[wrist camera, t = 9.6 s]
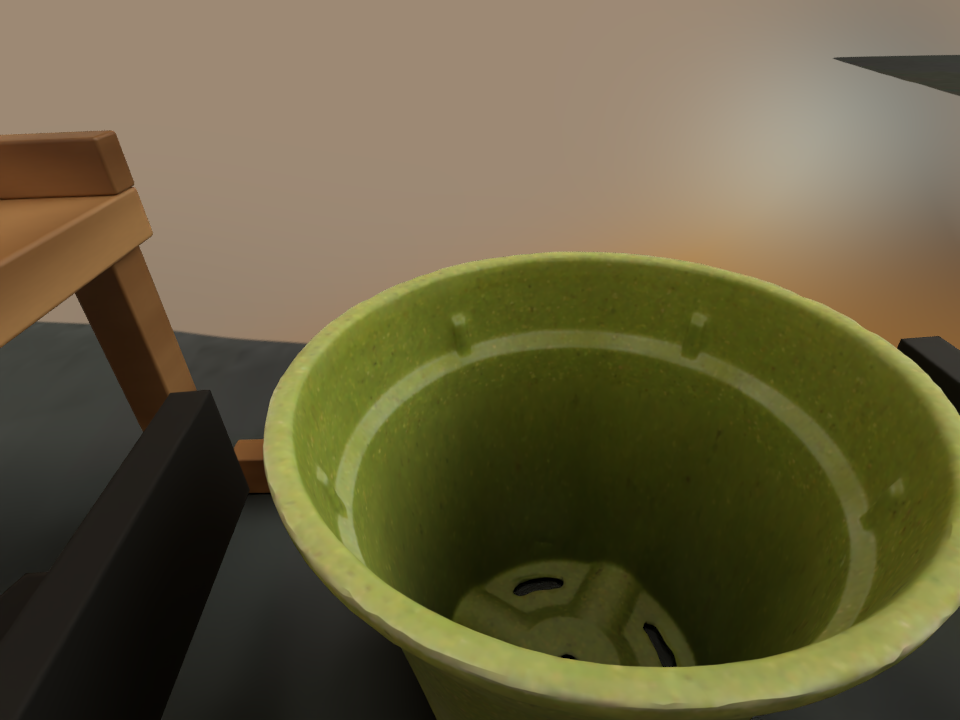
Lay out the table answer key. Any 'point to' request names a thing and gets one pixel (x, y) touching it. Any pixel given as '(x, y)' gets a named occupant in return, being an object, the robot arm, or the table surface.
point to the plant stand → (91, 264)
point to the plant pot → (620, 488)
